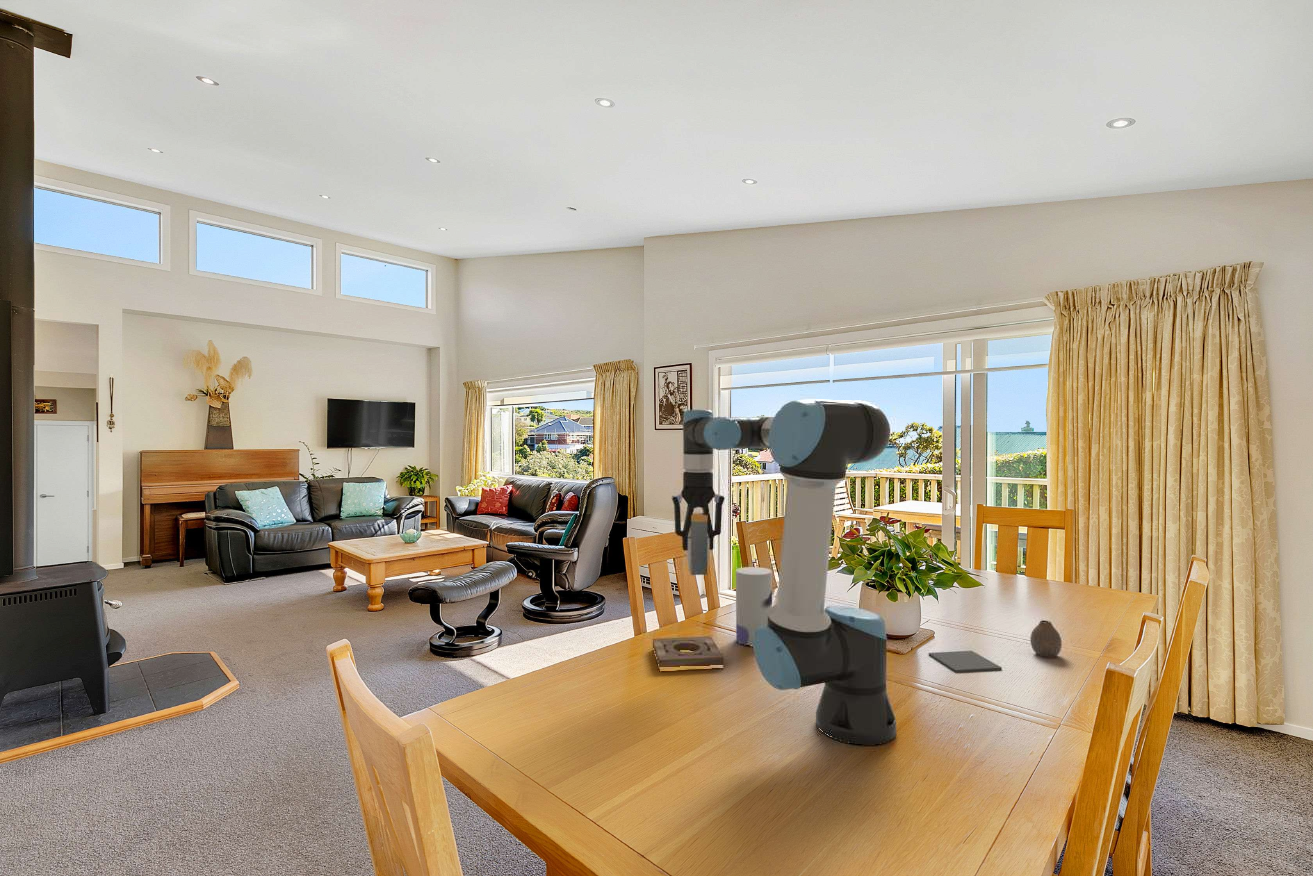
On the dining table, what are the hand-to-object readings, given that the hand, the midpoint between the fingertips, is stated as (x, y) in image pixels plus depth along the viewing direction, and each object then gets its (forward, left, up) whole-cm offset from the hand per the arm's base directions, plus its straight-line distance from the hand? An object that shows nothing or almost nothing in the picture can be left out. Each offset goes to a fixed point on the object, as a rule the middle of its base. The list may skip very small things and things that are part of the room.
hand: (697, 562), depth 159 cm
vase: (-6, -91, -26) cm, 94 cm away
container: (+15, -19, -26) cm, 35 cm away
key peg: (0, 0, -3) cm, 3 cm away
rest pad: (-8, -67, -26) cm, 72 cm away
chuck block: (+4, +2, -26) cm, 26 cm away
